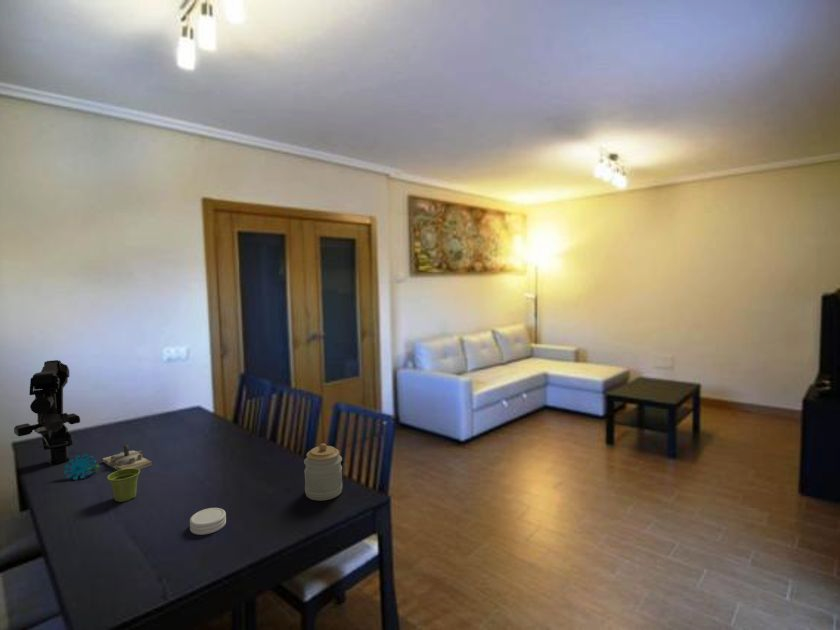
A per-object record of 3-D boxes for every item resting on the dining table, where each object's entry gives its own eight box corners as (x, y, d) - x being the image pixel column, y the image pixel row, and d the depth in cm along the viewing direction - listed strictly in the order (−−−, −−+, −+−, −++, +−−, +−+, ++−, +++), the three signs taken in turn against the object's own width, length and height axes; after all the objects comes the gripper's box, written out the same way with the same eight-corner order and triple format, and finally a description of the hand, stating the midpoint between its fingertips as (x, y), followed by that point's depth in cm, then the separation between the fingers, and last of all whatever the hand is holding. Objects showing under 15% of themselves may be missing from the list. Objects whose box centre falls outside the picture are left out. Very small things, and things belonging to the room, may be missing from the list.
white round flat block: (188, 538, 132) (188, 527, 132) (191, 521, 141) (190, 511, 141) (226, 531, 136) (225, 519, 136) (226, 514, 145) (225, 504, 145)
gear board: (101, 462, 186) (100, 444, 185) (131, 453, 195) (130, 436, 194) (122, 474, 174) (121, 455, 173) (153, 464, 183) (152, 446, 182)
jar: (349, 487, 163) (348, 439, 162) (330, 504, 151) (329, 452, 150) (317, 481, 168) (316, 435, 166) (297, 498, 155) (295, 448, 154)
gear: (58, 478, 167) (70, 452, 174) (63, 484, 172) (74, 458, 178) (92, 479, 170) (102, 453, 176) (96, 485, 174) (106, 460, 181)
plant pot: (106, 507, 150) (105, 482, 149) (111, 495, 158) (109, 471, 157) (140, 501, 154) (138, 476, 153) (142, 489, 162) (141, 465, 161)
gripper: (21, 417, 159) (25, 459, 160) (84, 404, 174) (87, 443, 175) (11, 411, 165) (15, 452, 167) (73, 399, 180) (76, 436, 182)
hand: (50, 446), depth 172 cm, fingers closed
